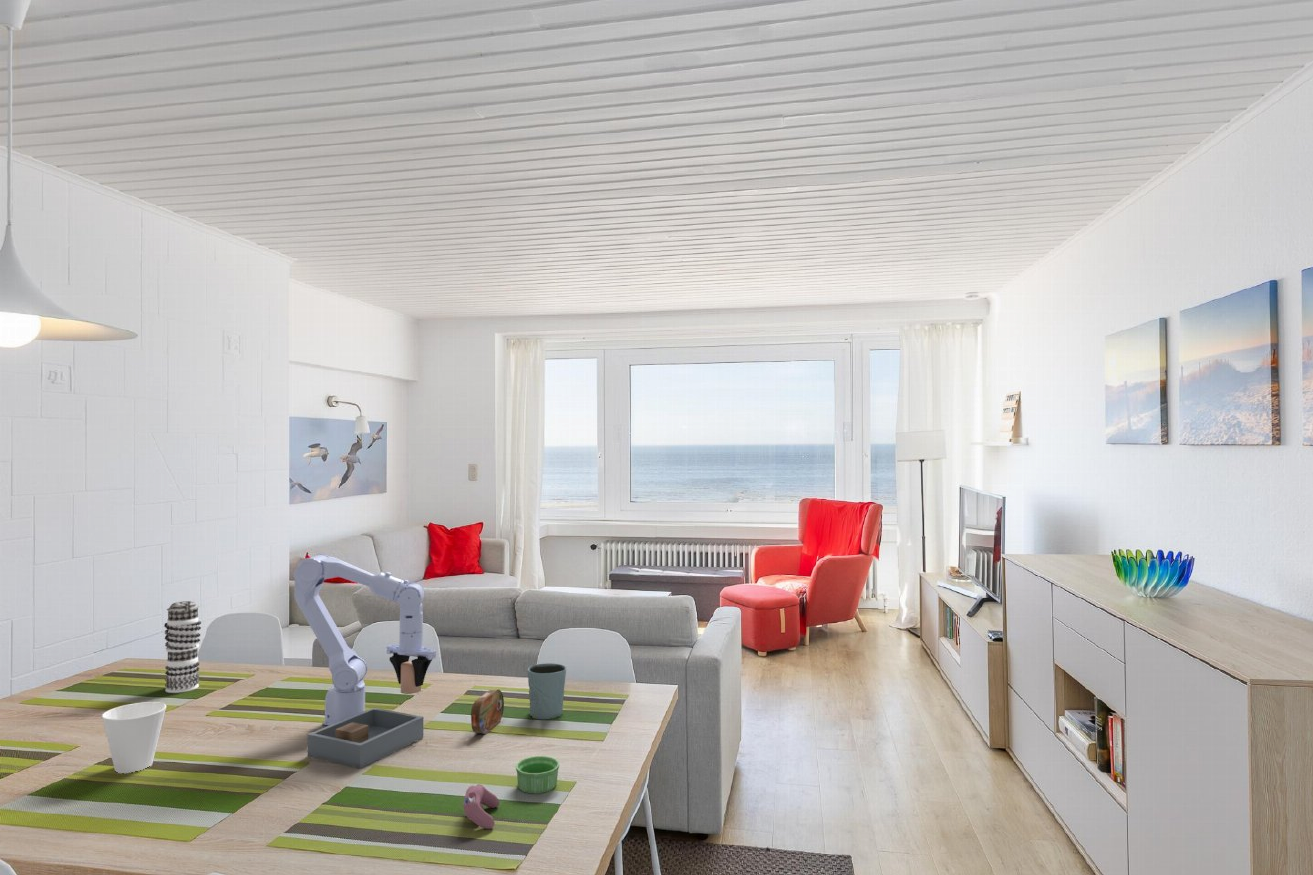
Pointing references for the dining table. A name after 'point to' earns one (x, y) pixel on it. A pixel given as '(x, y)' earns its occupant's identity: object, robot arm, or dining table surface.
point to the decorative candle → (182, 647)
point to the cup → (133, 734)
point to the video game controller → (479, 805)
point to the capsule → (408, 679)
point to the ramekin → (537, 774)
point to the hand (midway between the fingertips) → (410, 684)
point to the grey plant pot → (546, 690)
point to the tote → (383, 738)
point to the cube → (353, 732)
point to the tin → (487, 711)
